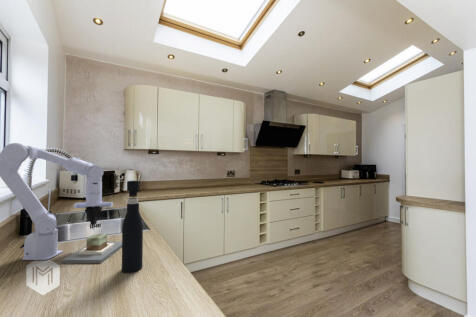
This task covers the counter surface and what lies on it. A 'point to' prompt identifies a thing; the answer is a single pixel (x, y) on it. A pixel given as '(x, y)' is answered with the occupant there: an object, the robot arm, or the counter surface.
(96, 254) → the pocket board
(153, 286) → the counter surface
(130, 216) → the wine bottle
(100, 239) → the block stack
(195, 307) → the counter surface
